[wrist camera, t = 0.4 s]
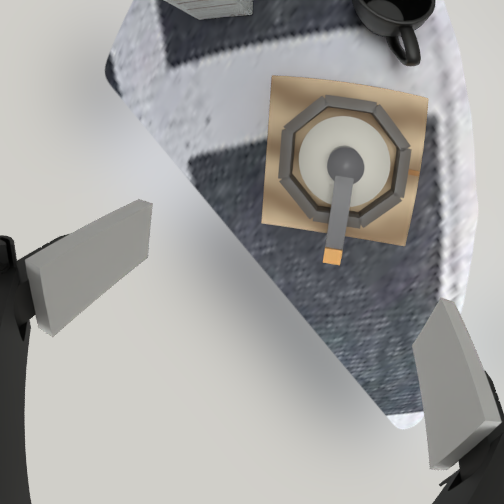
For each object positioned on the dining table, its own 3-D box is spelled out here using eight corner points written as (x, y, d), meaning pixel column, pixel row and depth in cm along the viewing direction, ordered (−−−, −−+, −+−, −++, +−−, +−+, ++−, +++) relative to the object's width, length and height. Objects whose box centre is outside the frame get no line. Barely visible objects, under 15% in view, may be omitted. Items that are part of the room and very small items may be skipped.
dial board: (275, 77, 34) (266, 72, 30) (423, 99, 30) (434, 96, 26) (265, 218, 41) (256, 229, 37) (402, 240, 37) (408, 254, 33)
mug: (363, 77, 31) (371, 62, 22) (342, -9, 27) (342, -44, 18) (428, 76, 28) (454, 63, 20) (406, -10, 24) (422, -42, 16)
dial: (304, 111, 32) (297, 108, 27) (392, 124, 30) (403, 124, 25) (292, 236, 39) (284, 255, 33) (372, 249, 36) (377, 271, 31)
